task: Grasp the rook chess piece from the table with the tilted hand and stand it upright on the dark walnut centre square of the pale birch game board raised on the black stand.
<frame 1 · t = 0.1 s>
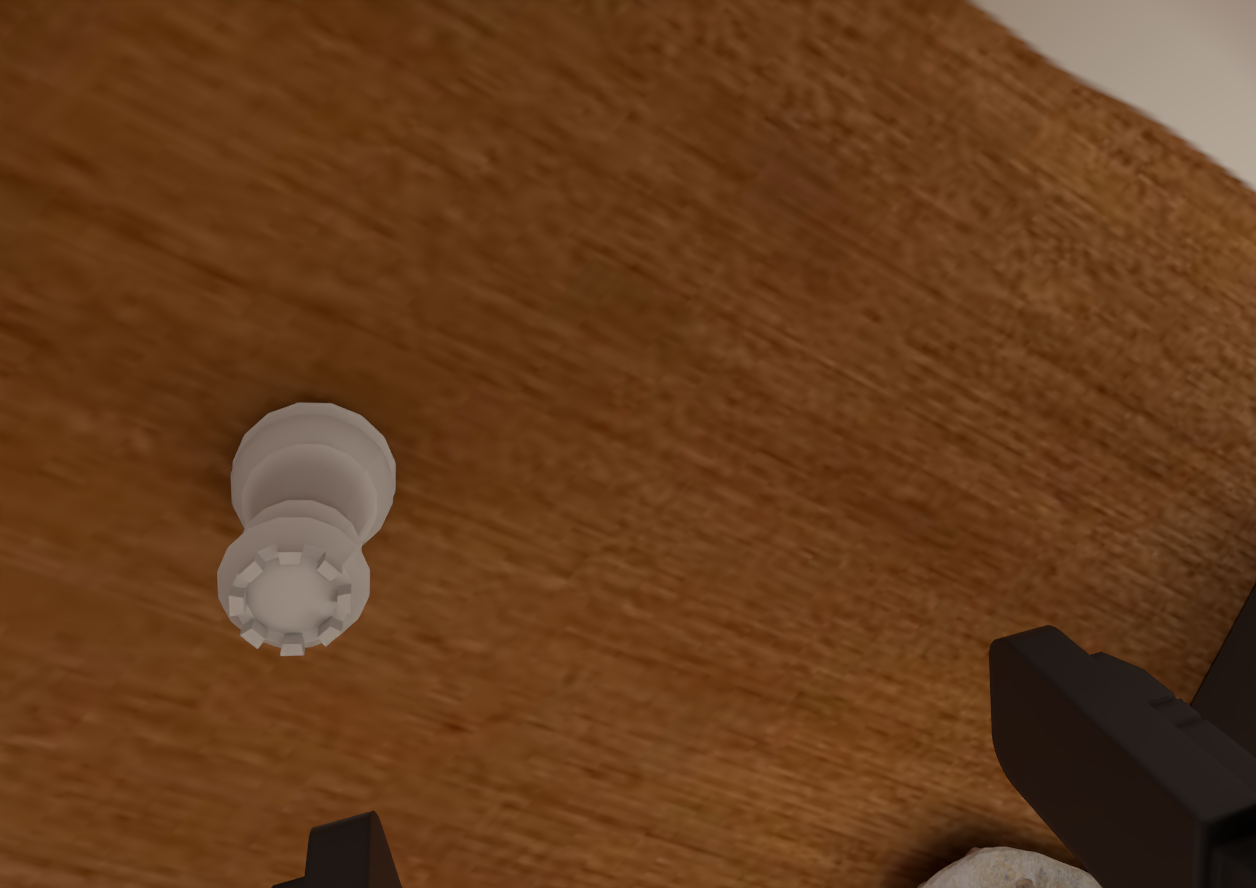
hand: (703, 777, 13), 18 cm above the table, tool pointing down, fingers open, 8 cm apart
rook chess piece: (317, 468, 29), on the table
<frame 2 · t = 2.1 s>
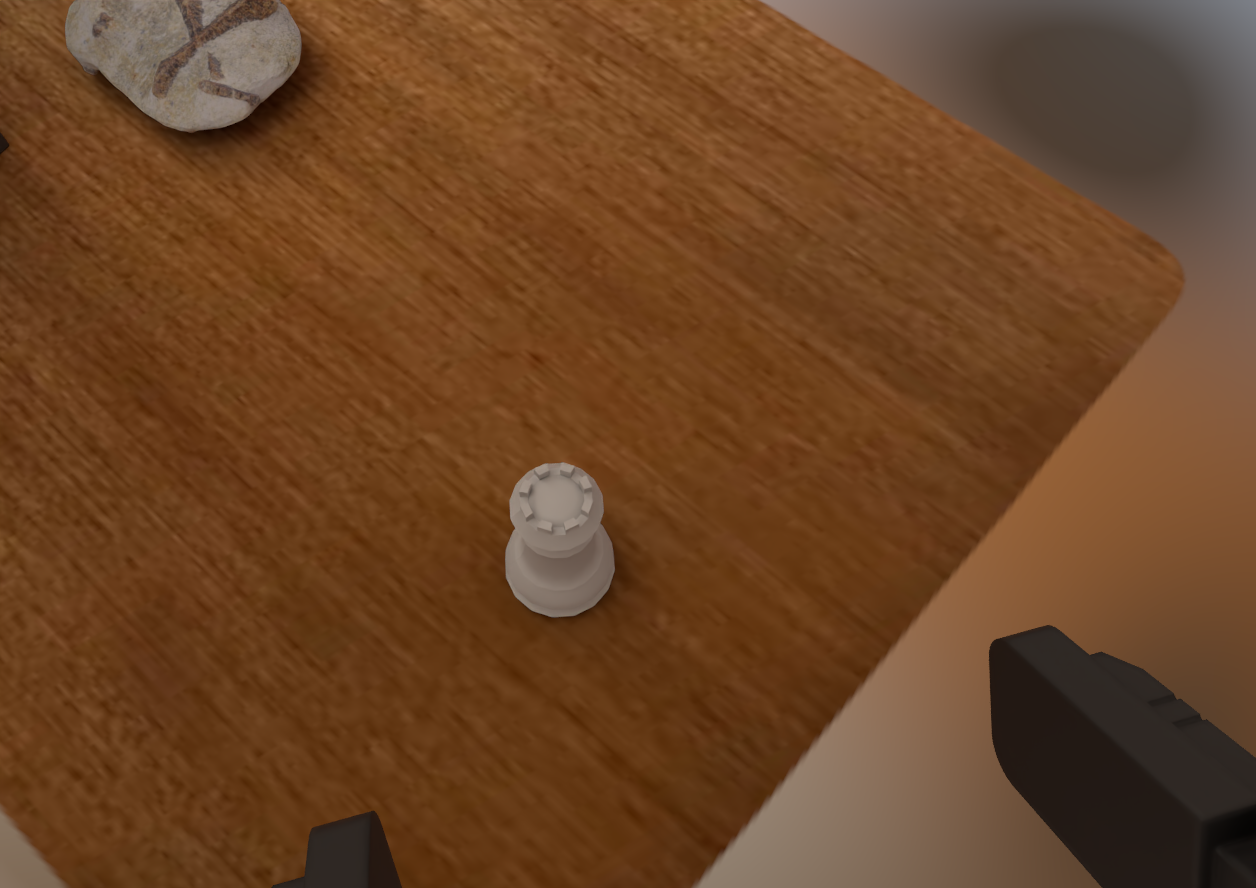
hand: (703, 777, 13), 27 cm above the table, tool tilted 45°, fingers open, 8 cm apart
rook chess piece: (560, 568, 41), on the table
stone: (201, 64, 52), on the table
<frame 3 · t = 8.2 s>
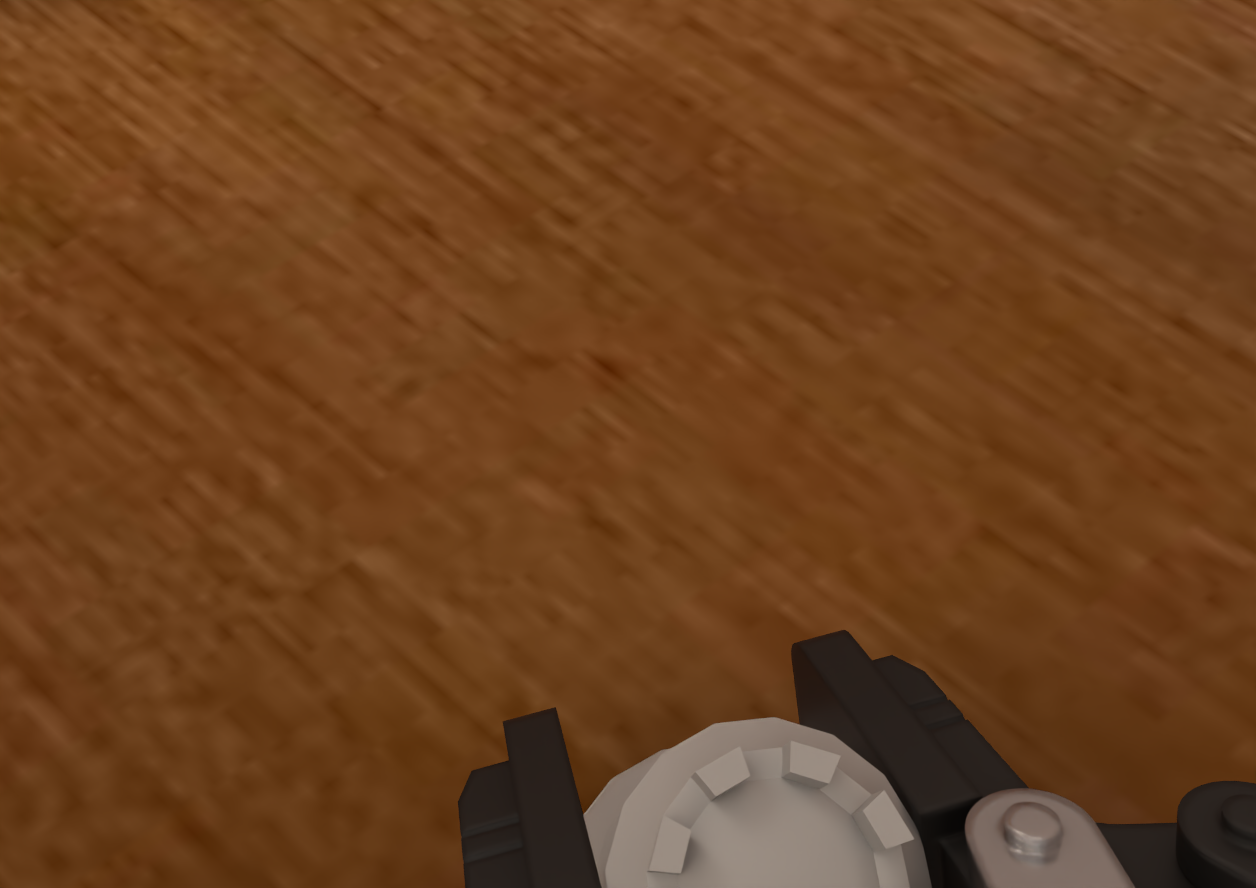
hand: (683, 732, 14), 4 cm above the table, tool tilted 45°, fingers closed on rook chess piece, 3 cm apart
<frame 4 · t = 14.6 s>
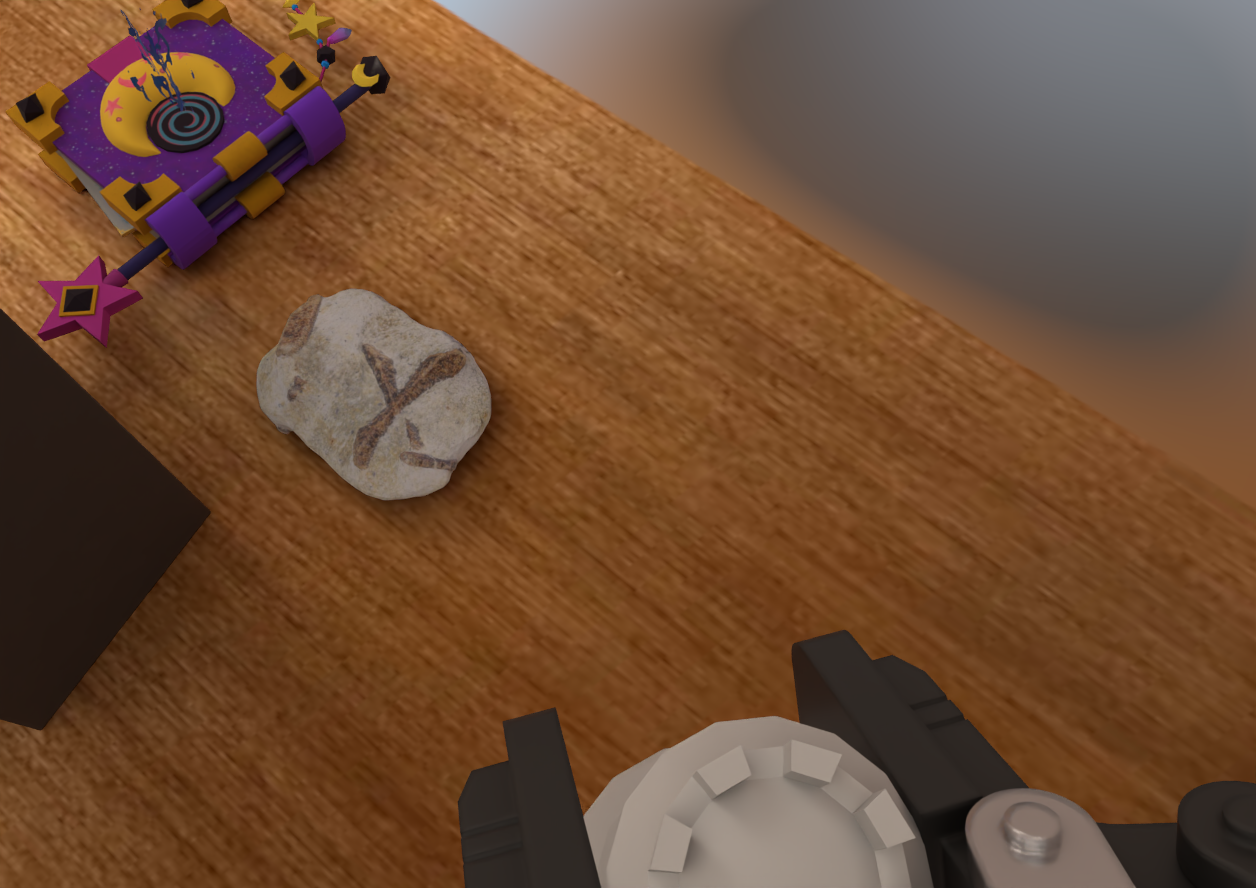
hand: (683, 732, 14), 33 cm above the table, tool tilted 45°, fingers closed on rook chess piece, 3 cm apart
stone: (385, 407, 52), on the table
board stand: (32, 555, 48), on the table
book: (195, 171, 58), on the table
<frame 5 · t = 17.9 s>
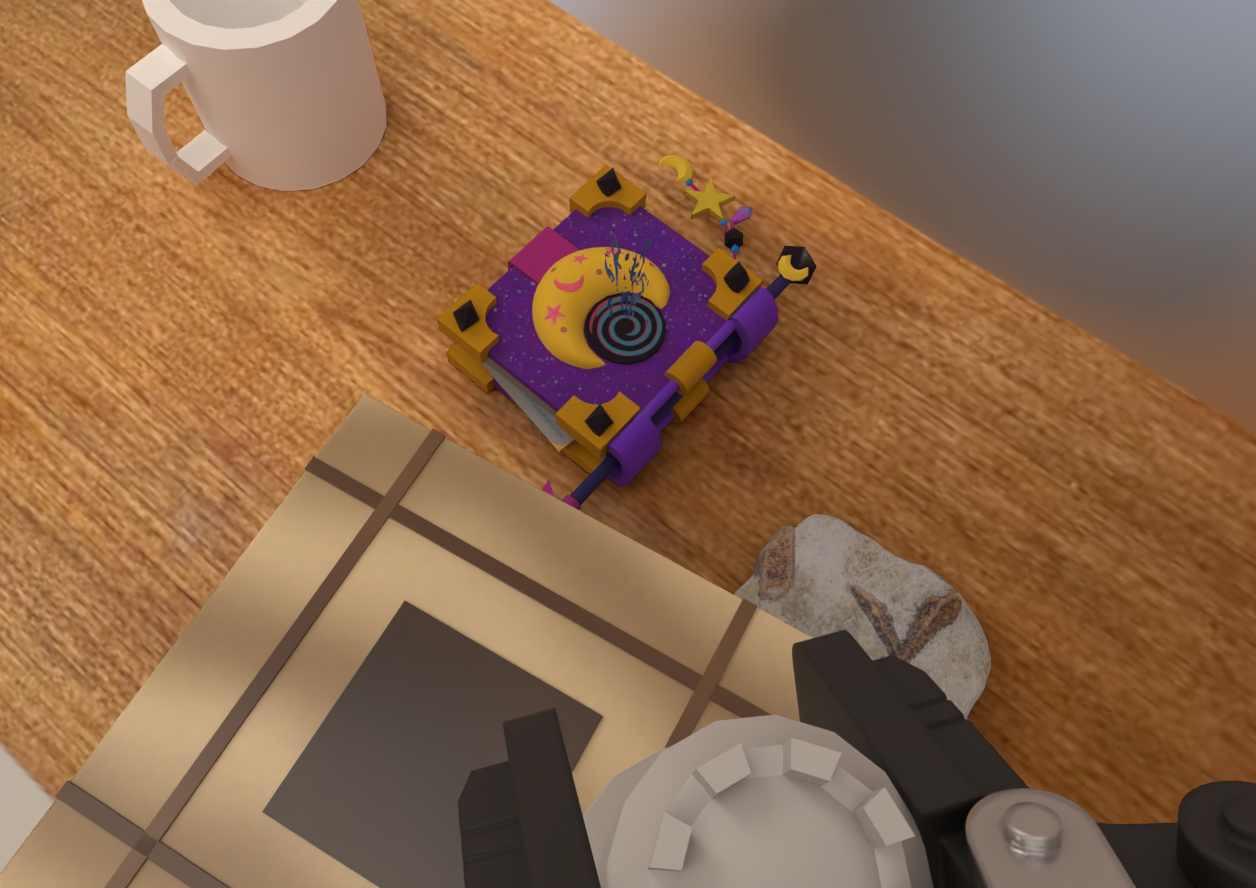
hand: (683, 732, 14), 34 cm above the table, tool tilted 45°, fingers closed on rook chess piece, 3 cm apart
game board: (444, 769, 24), resting on board stand
stone: (854, 643, 48), on the table
mug: (284, 133, 60), on the table
book: (602, 365, 54), on the table
when the fingers open (27 cm above the table, at t = 20.8 s): rook chess piece stays where it is, resting on game board.
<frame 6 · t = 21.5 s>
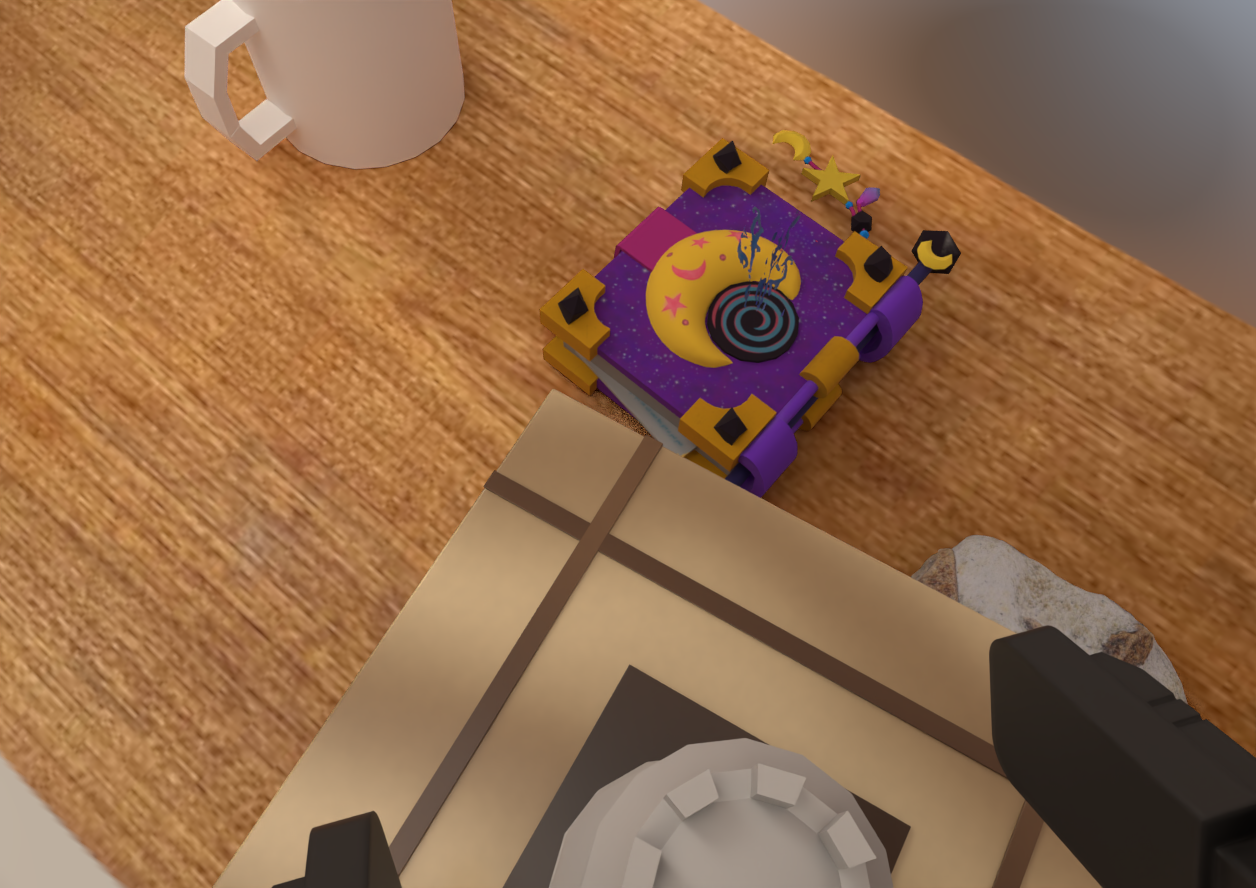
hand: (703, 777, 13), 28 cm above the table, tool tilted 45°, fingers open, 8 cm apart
stone: (1019, 684, 42), on the table
mug: (351, 105, 54), on the table
book: (716, 365, 48), on the table
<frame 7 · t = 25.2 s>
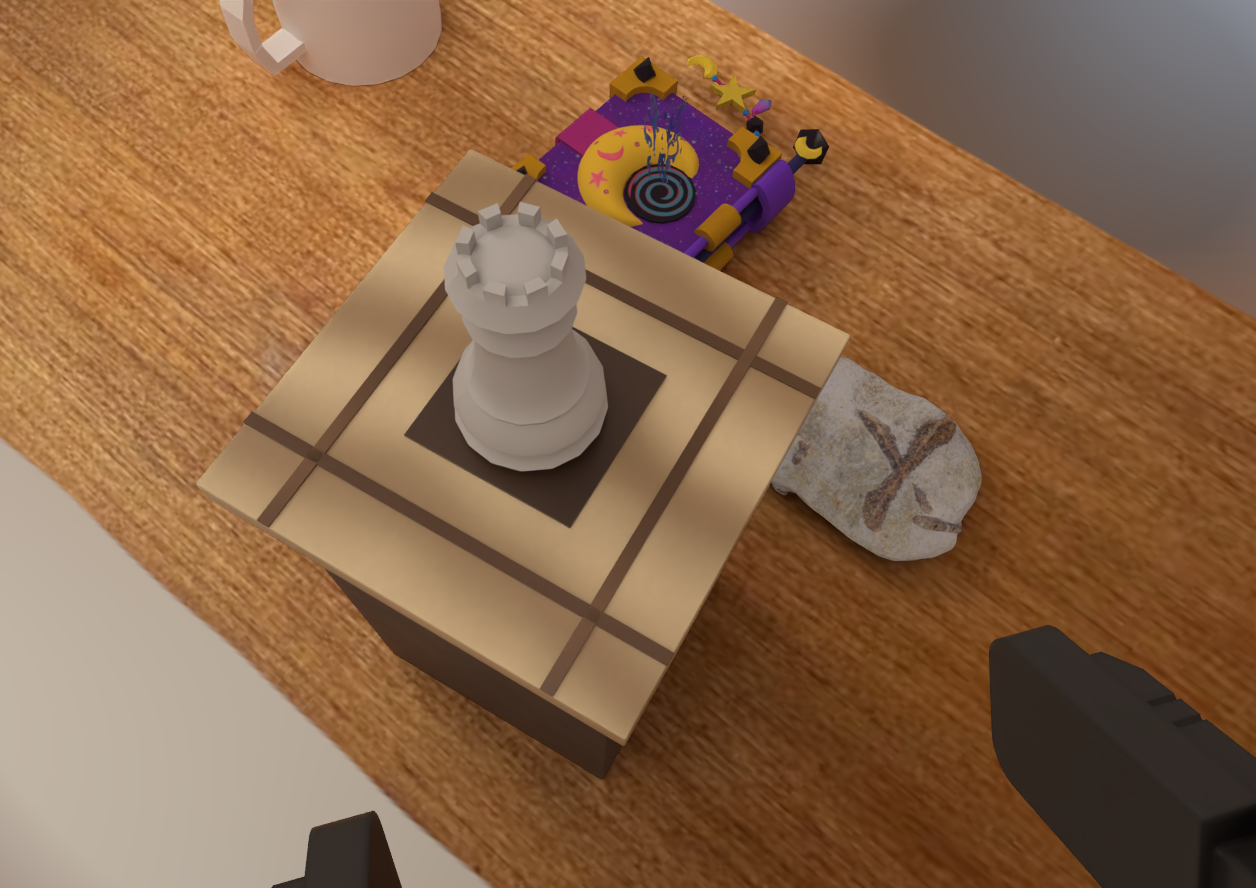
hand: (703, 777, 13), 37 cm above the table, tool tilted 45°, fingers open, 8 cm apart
rook chess piece: (532, 410, 30), point 23 cm above the table, touching game board
game board: (539, 423, 31), resting on board stand
stone: (861, 468, 55), on the table
board stand: (560, 610, 51), on the table
mug: (350, 37, 66), on the table
book: (637, 236, 61), on the table
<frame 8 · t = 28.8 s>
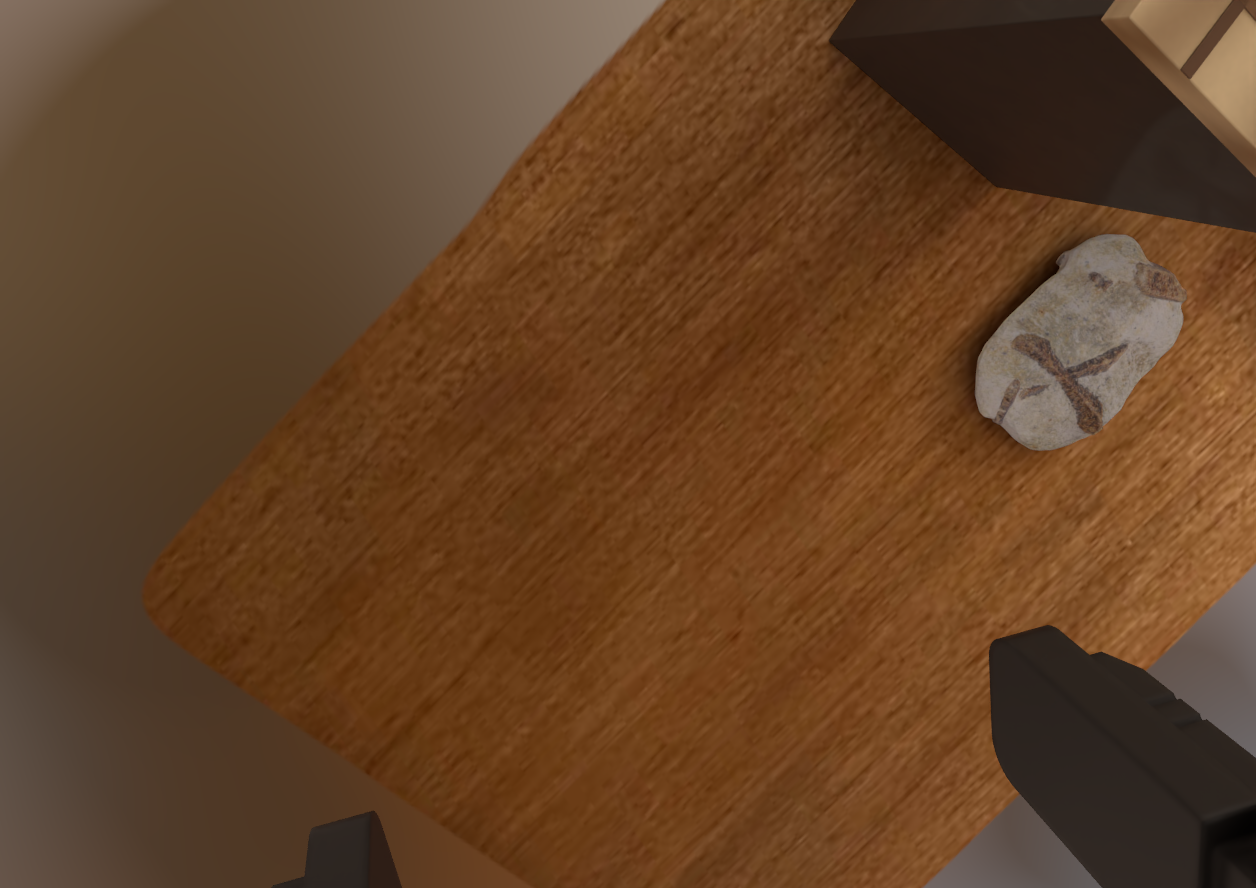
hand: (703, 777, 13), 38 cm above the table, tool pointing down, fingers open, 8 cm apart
stone: (1057, 341, 56), on the table
board stand: (991, 11, 49), on the table
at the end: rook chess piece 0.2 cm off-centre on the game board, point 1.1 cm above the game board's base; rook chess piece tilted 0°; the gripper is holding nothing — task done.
